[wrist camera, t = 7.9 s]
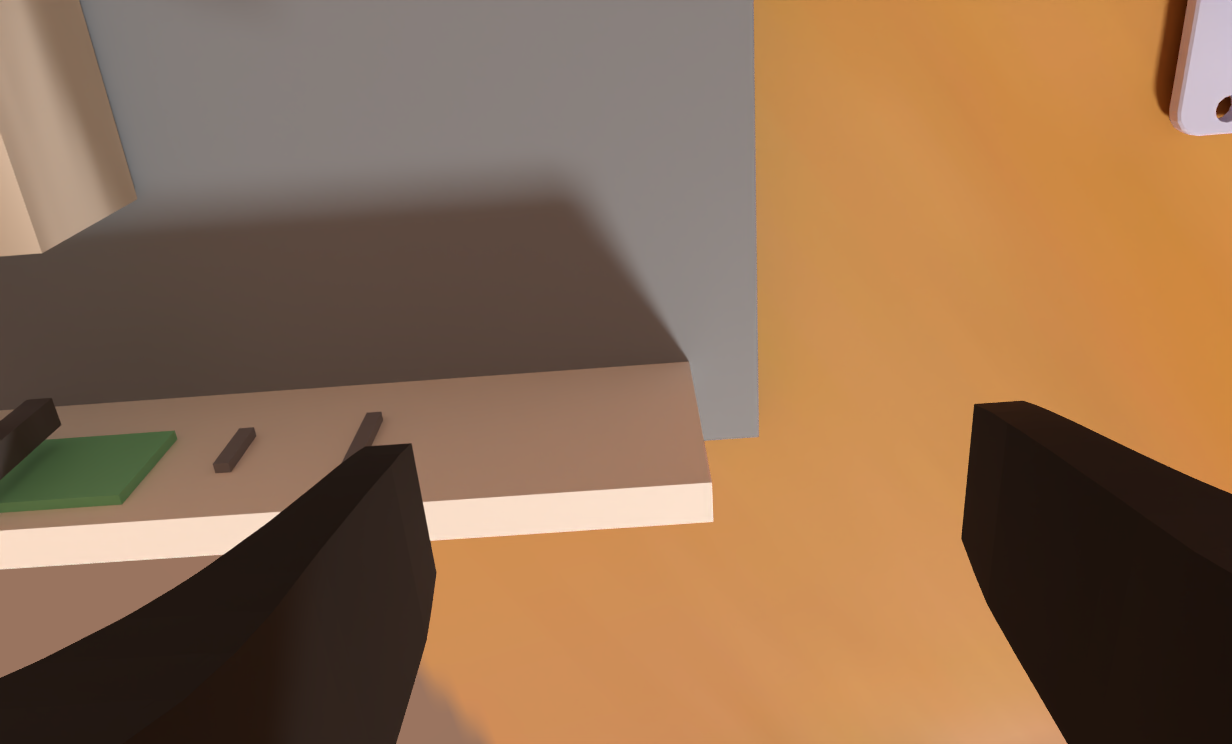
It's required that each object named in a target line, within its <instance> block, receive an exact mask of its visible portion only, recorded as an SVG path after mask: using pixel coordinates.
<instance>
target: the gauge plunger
mask: <svg viewBox="0 0 1232 744" xmlns="http://www.w3.org/2000/svg"><path fill="white" fill-rule="evenodd" d="M135 200H137V196H136V192H135V189H134V185H133V182H132V179H131V175H130V172H129V168H128V165H127V162H126V158H125V155H124V151H123V148H122V144H121V141H120V138H119V134H118V131H117V127H116V124H115V121H114V117H113V114H112V110H111V107H110V104H109V100H108V97H107V93H106V90H105V87H104V83H103V80H102V76H101V73H100V70H99V66H98V63H97V59H96V56H95V53H94V49H93V46H92V42H91V39H90V36H89V32H88V29H87V25H86V22H85V19H84V15H83V12H82V8H81V5H80V2H79V0H0V256H12V255H26V254H39V253H43V252H45V251H47V250H49V249H50V248H52V247H54V246H56V245H58V244H59V243H61V242H63V241H65V240H66V239H68V238H70V237H72V236H73V235H75V234H77V233H79V232H80V231H82V230H84V229H86V228H87V227H89V226H91V225H93V224H95V223H96V222H98V221H100V220H102V219H103V218H105V217H107V216H109V215H110V214H112V213H114V212H116V211H117V210H119V209H121V208H123V207H125V206H126V205H128V204H130V203H132V202H133V201H135ZM60 426H61V422H60V419H59V416H58V414H57V411H56V408H55V405H54V403H53V400H52V398H43V399H29V400H26V401H24V402H23V403H22V404H21V405H19V406H18V407H17V408H16V409H14V410H13V411H12V412H11V413H9V414H8V415H7V416H6V417H4V418H3V419H2V420H1V421H0V480H1V479H2V478H3V477H4V476H6V475H7V474H8V473H9V472H10V471H11V470H12V469H13V468H14V467H15V466H17V465H18V464H19V463H20V462H21V461H22V460H23V459H24V458H25V457H27V456H28V455H29V454H30V453H31V452H32V451H33V450H34V449H35V448H37V447H38V446H39V445H40V444H41V443H42V442H43V441H44V440H45V439H47V438H48V437H49V436H50V435H51V434H52V433H53V432H54V431H55V430H57V429H58V428H59V427H60Z"/></svg>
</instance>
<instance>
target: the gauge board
mask: <svg viewBox="0 0 1232 744" xmlns="http://www.w3.org/2000/svg"><path fill="white" fill-rule="evenodd" d="M79 2H80V5H81V8H82V12H83V15H84V19H85V22H86V25H87V29H88V32H89V36H90V39H91V42H92V46H93V49H94V53H95V56H96V59H97V63H98V66H99V70H100V73H101V76H102V80H103V83H104V87H105V90H106V93H107V97H108V100H109V104H110V107H111V110H112V114H113V117H114V121H115V124H116V127H117V131H118V134H119V138H120V141H121V144H122V148H123V151H124V155H125V158H126V162H127V165H128V168H129V172H130V175H131V179H132V182H133V185H134V189H135V192H136V196H137V200H135V201H133V202H132V203H130V204H128V205H126V206H125V207H123V208H121V209H119V210H117V211H116V212H114V213H112V214H110V215H109V216H107V217H105V218H103V219H102V220H100V221H98V222H96V223H95V224H93V225H91V226H89V227H87V228H86V229H84V230H82V231H80V232H79V233H77V234H75V235H73V236H72V237H70V238H68V239H66V240H65V241H63V242H61V243H59V244H58V245H56V246H54V247H52V248H50V249H49V250H47V251H45V252H43V253H39V254H26V255H12V256H0V421H1V420H2V419H3V418H4V417H6V416H7V415H8V414H9V413H11V412H12V411H13V410H14V409H16V408H17V407H18V406H19V405H21V404H22V403H23V402H24V401H26V400H29V399H43V398H52V400H53V403H54V405H55V408H56V411H57V414H58V416H59V419H60V422H61V426H60V427H59V428H58V429H57V430H55V431H54V432H53V433H52V434H51V435H50V436H49V437H48V438H47V439H45V440H44V441H43V442H42V443H41V444H40V445H39V446H38V447H37V448H35V449H34V450H33V451H32V452H31V453H30V454H29V455H28V456H27V457H25V458H24V459H23V460H22V461H21V462H20V463H19V464H18V465H17V466H15V467H14V468H13V469H12V470H11V471H10V472H9V473H8V474H7V475H6V476H4V477H3V478H2V479H1V480H0V569H13V568H28V567H43V566H58V565H73V564H87V563H103V562H118V561H133V560H148V559H163V558H176V557H177V558H178V557H193V556H208V555H223V554H225V553H226V552H228V551H229V550H231V549H232V548H233V547H235V546H236V545H237V544H239V543H240V542H242V541H243V540H244V539H246V538H247V537H248V536H250V535H251V534H253V533H254V532H255V531H257V530H258V529H259V528H261V527H262V526H264V525H265V524H266V523H268V522H269V521H270V520H271V519H273V518H274V517H275V516H277V515H278V514H279V513H280V512H282V511H283V510H284V509H285V508H287V507H288V506H289V505H290V504H292V503H293V502H294V501H295V500H297V499H298V498H299V497H300V496H302V495H303V494H304V493H305V492H307V491H308V490H309V489H310V488H311V487H313V486H314V485H315V484H316V483H318V482H319V481H320V480H321V479H323V478H324V477H325V476H326V475H327V474H329V473H330V472H331V471H332V470H334V469H335V468H336V467H337V466H339V465H340V464H341V463H342V462H344V461H345V460H346V459H348V458H349V457H350V456H352V455H353V454H354V453H356V452H357V451H359V450H360V449H362V448H363V447H365V446H379V445H393V444H408V443H412V448H413V453H414V458H415V464H416V469H417V474H418V479H419V485H420V490H421V495H422V500H423V506H424V511H425V516H426V522H427V527H428V532H429V537H430V541H433V540H448V539H463V538H478V537H493V536H508V535H522V534H537V533H552V532H567V531H582V530H597V529H612V528H627V527H642V526H657V525H672V524H687V523H702V522H713V501H712V481H711V475H710V470H709V465H708V459H707V454H706V449H705V444H704V441H706V440H721V439H735V438H750V437H759V412H758V331H757V250H756V169H755V88H754V7H753V0H79Z"/></svg>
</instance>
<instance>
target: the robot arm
mask: <svg viewBox="0 0 1232 744" xmlns="http://www.w3.org/2000/svg"><path fill="white" fill-rule="evenodd" d="M1228 96H1230V98H1231V106H1230V109H1229V111H1228V112H1227V113H1226V114H1225V115H1224V116H1223V117H1220V118H1217V117H1216V109H1217V106H1218V104H1219V102H1221V101H1222V100H1223V99H1224V98H1225V97H1228ZM1169 116H1170V121H1171V123H1172V125H1173V127H1174V128H1176V129H1177V130H1179V131H1180V132H1183V133H1186V134H1189V135H1196V136H1201V135H1214V134H1227V133H1232V0H1188V2H1187V8H1186V14H1185V20H1184V26H1183V32H1182V38H1181V44H1180V50H1179V56H1178V61H1177V67H1176V73H1175V79H1174V85H1173V91H1172V97H1171V103H1170V109H1169ZM961 539H962V542H963V544H964V547H965V550H966V552H967V555H968V557H969V560H970V563H971V565H972V568H973V571H974V573H975V576H976V578H977V581H978V583H979V586H980V588H981V590H982V593H983V595H984V598H985V600H986V602H987V605H988V606H989V608H990V610H991V612H992V614H993V616H994V617H995V619H996V621H997V623H998V624H999V626H1000V628H1001V630H1002V631H1003V633H1004V635H1005V637H1006V638H1007V640H1008V642H1009V644H1010V646H1011V647H1012V649H1013V651H1014V653H1015V654H1016V656H1017V658H1018V659H1019V661H1020V663H1021V665H1022V666H1023V668H1024V670H1025V671H1026V673H1027V675H1028V677H1029V678H1030V680H1031V682H1032V683H1033V685H1034V687H1035V689H1036V690H1037V692H1038V694H1039V695H1040V697H1041V699H1042V701H1043V702H1044V704H1045V706H1046V707H1047V709H1048V711H1049V713H1050V714H1051V716H1052V718H1053V719H1054V721H1055V723H1056V725H1057V726H1058V728H1059V730H1060V731H1061V733H1062V735H1063V737H1064V738H1065V740H1066V742H1067V743H1068V744H1232V494H1230V493H1228V492H1226V491H1223V490H1221V489H1218V488H1216V487H1214V486H1211V485H1209V484H1206V483H1204V482H1202V481H1199V480H1197V479H1195V478H1192V477H1190V476H1188V475H1186V474H1183V473H1181V472H1179V471H1177V470H1174V469H1172V468H1170V467H1168V466H1166V465H1164V464H1161V463H1159V462H1157V461H1155V460H1153V459H1151V458H1148V457H1146V456H1144V455H1142V454H1140V453H1138V452H1136V451H1134V450H1132V449H1129V448H1127V447H1125V446H1123V445H1121V444H1119V443H1117V442H1115V441H1113V440H1111V439H1109V438H1107V437H1104V436H1102V435H1100V434H1098V433H1096V432H1094V431H1092V430H1090V429H1088V428H1086V427H1084V426H1082V425H1080V424H1077V423H1075V422H1073V421H1071V420H1069V419H1067V418H1065V417H1062V416H1060V415H1058V414H1056V413H1054V412H1051V411H1049V410H1047V409H1044V408H1042V407H1039V406H1037V405H1034V404H1031V403H1028V402H1025V401H1013V402H998V403H984V404H974V413H973V423H972V433H971V444H970V454H969V465H968V475H967V485H966V496H965V506H964V517H963V527H962V538H961ZM435 579H436V569H435V564H434V558H433V553H432V548H431V543H430V537H429V532H428V527H427V522H426V516H425V511H424V506H423V500H422V495H421V490H420V485H419V479H418V474H417V469H416V464H415V458H414V453H413V448H412V443H408V444H393V445H379V446H365V447H363V448H362V449H360V450H359V451H357V452H356V453H354V454H353V455H352V456H350V457H349V458H348V459H346V460H345V461H344V462H342V463H341V464H340V465H339V466H337V467H336V468H335V469H334V470H332V471H331V472H330V473H329V474H327V475H326V476H325V477H324V478H323V479H321V480H320V481H319V482H318V483H316V484H315V485H314V486H313V487H311V488H310V489H309V490H308V491H307V492H305V493H304V494H303V495H302V496H300V497H299V498H298V499H297V500H295V501H294V502H293V503H292V504H290V505H289V506H288V507H287V508H285V509H284V510H283V511H282V512H280V513H279V514H278V515H277V516H275V517H274V518H273V519H271V520H270V521H269V522H268V523H266V524H265V525H264V526H262V527H261V528H259V529H258V530H257V531H255V532H254V533H253V534H251V535H250V536H248V537H247V538H246V539H244V540H243V541H242V542H240V543H239V544H237V545H236V546H235V547H233V548H232V549H231V550H229V551H228V552H226V553H225V554H224V555H222V556H221V557H220V558H218V559H217V560H215V561H214V562H213V563H211V564H210V565H209V566H207V567H206V568H204V569H203V570H201V571H200V572H198V573H197V574H195V575H194V576H192V577H190V578H189V579H187V580H186V581H184V582H183V583H181V584H180V585H178V586H176V587H175V588H174V589H172V590H170V591H168V592H167V593H165V594H163V595H162V596H160V597H158V598H157V599H155V600H153V601H152V602H150V603H148V604H147V605H145V606H143V607H142V608H140V609H138V610H137V611H135V612H133V613H131V614H129V615H128V616H126V617H124V618H122V619H120V620H118V621H116V622H114V623H113V624H111V625H109V626H107V627H105V628H103V629H101V630H99V631H97V632H95V633H93V634H91V635H89V636H87V637H85V638H83V639H81V640H79V641H77V642H75V643H73V644H71V645H69V646H67V647H65V648H63V649H61V650H59V651H58V652H56V653H54V654H52V655H50V656H48V657H46V658H44V659H41V660H39V661H37V662H35V663H33V664H31V665H28V666H26V667H24V668H22V669H19V670H17V671H15V672H13V673H10V674H8V675H6V676H4V677H1V678H0V744H396V741H397V738H398V735H399V732H400V729H401V725H402V722H403V719H404V715H405V712H406V709H407V705H408V702H409V699H410V695H411V692H412V688H413V685H414V682H415V678H416V675H417V671H418V668H419V665H420V661H421V658H422V654H423V651H424V647H425V643H426V640H427V634H428V628H429V621H430V615H431V609H432V601H433V594H434V587H435Z"/></svg>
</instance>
